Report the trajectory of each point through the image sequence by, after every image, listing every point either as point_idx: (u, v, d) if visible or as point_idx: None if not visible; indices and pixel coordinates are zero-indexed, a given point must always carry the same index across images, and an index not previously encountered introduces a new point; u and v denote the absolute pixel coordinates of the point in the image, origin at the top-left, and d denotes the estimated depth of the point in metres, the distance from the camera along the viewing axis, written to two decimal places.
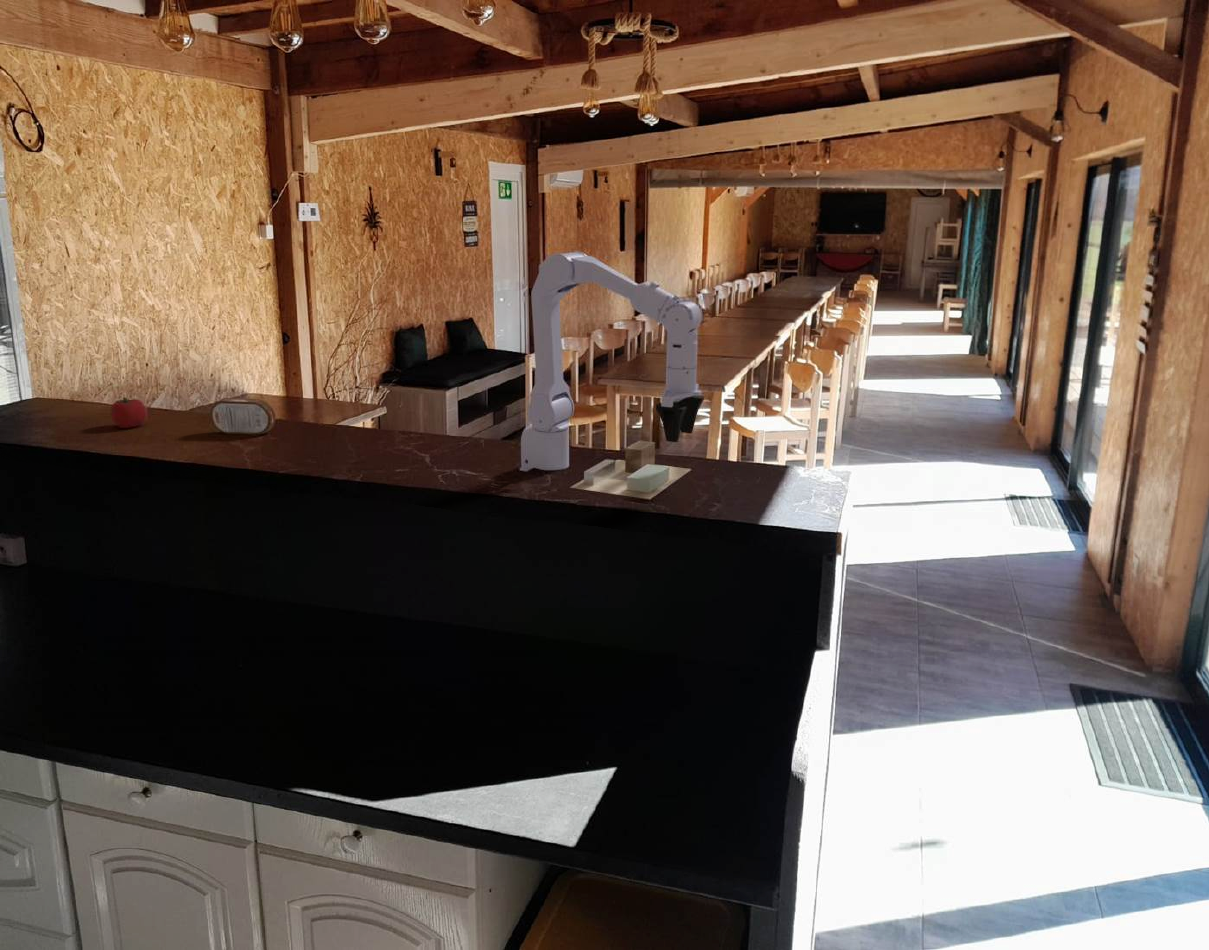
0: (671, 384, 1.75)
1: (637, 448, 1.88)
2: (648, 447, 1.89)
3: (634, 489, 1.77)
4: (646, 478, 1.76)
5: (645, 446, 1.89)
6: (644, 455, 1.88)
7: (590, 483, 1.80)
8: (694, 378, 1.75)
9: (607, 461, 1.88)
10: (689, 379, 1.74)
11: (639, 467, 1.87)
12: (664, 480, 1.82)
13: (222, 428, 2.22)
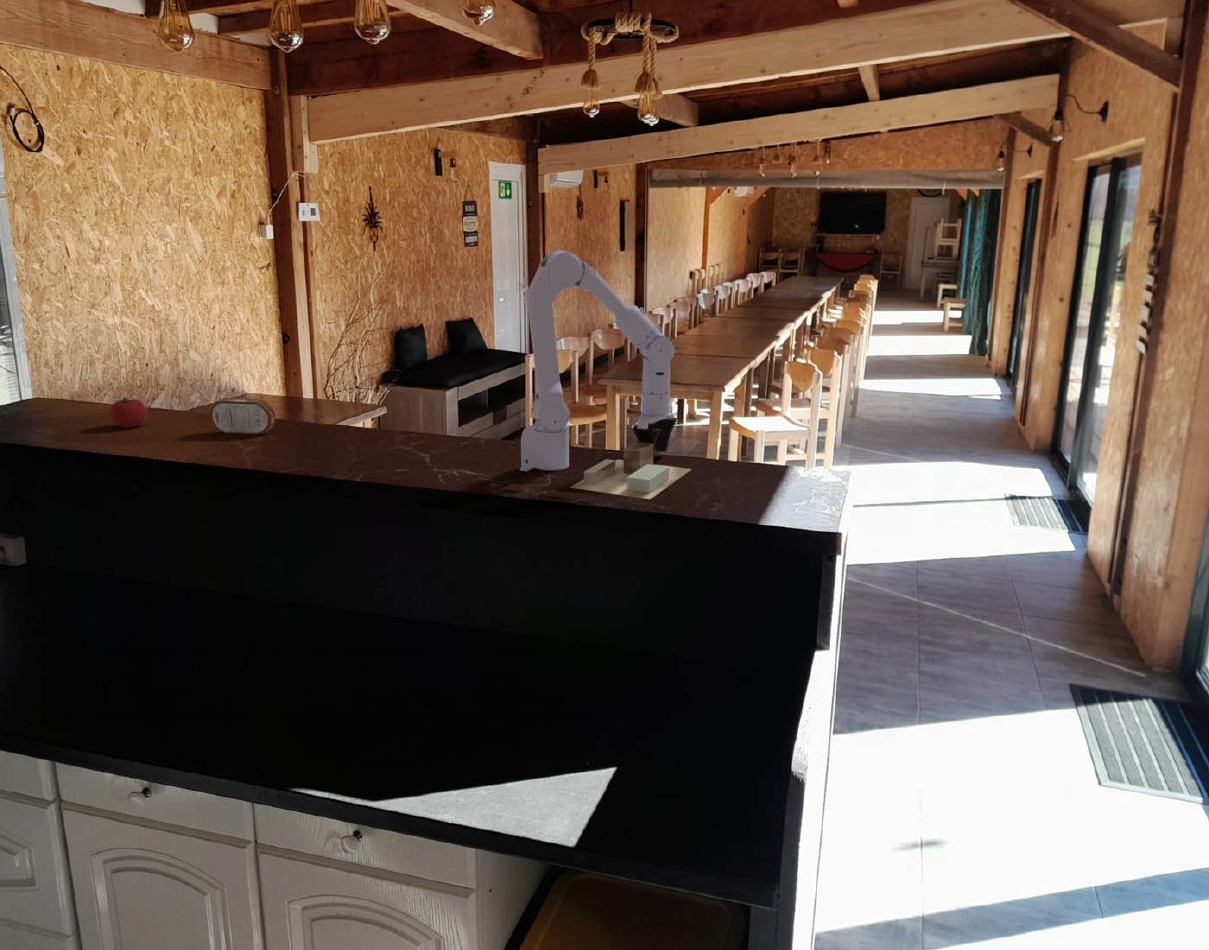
0: (646, 408, 1.93)
1: (635, 449, 1.87)
2: (646, 448, 1.89)
3: (634, 489, 1.77)
4: (646, 478, 1.76)
5: (643, 447, 1.88)
6: (642, 456, 1.87)
7: (590, 483, 1.80)
8: (667, 402, 1.93)
9: (607, 461, 1.88)
10: (663, 403, 1.92)
11: (637, 468, 1.87)
12: (664, 480, 1.82)
13: (222, 428, 2.22)
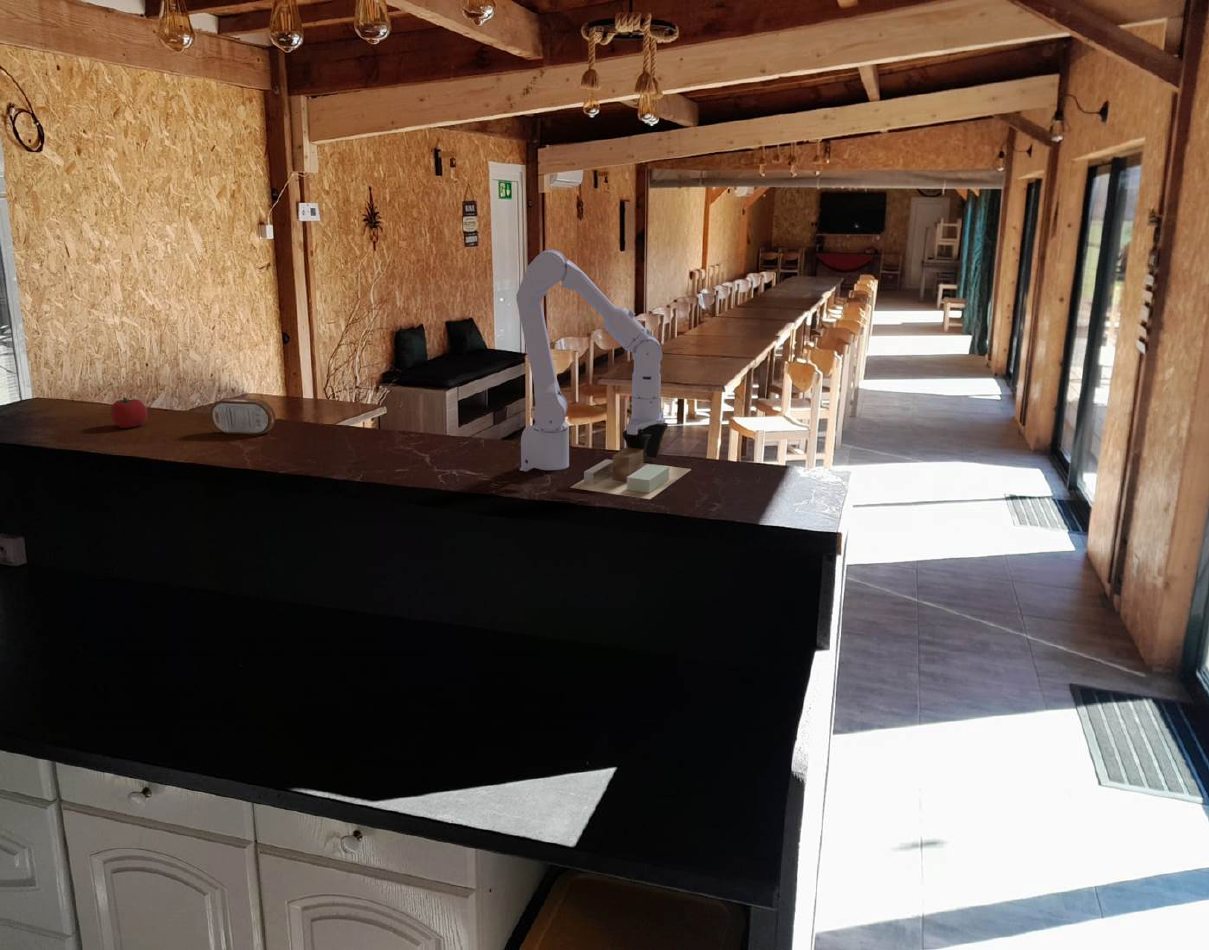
0: (636, 413, 1.88)
1: (625, 455, 1.82)
2: (636, 454, 1.84)
3: (634, 489, 1.77)
4: (646, 478, 1.76)
5: (633, 453, 1.84)
6: (632, 462, 1.83)
7: (590, 483, 1.80)
8: (658, 407, 1.89)
9: (607, 461, 1.88)
10: (653, 408, 1.88)
11: (627, 475, 1.82)
12: (664, 480, 1.82)
13: (222, 428, 2.22)
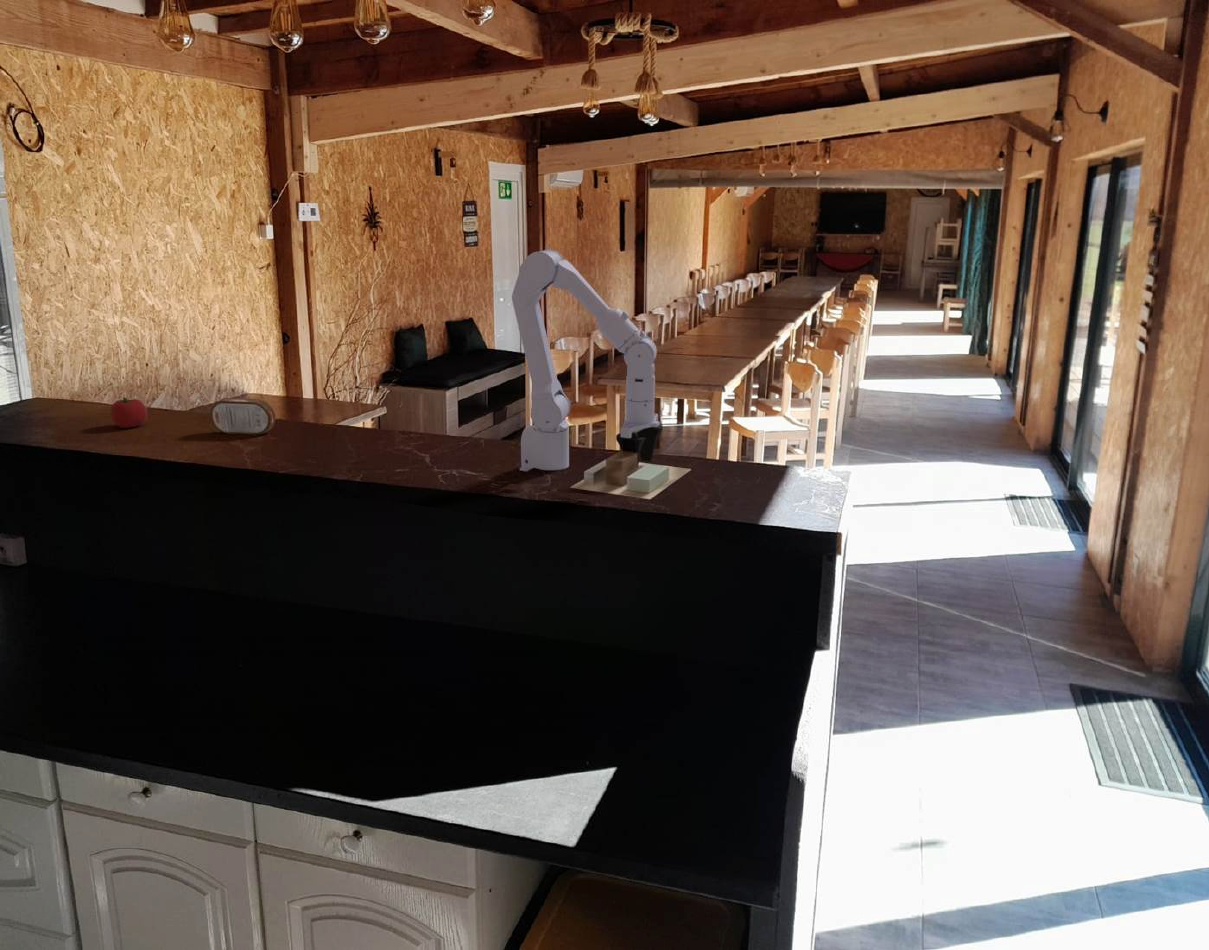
0: (630, 416, 1.86)
1: (618, 459, 1.80)
2: (630, 458, 1.81)
3: (634, 489, 1.77)
4: (646, 478, 1.76)
5: (627, 457, 1.81)
6: (626, 466, 1.80)
7: (590, 483, 1.80)
8: (652, 410, 1.86)
9: None
10: (647, 411, 1.85)
11: (620, 479, 1.79)
12: (664, 480, 1.82)
13: (222, 428, 2.22)
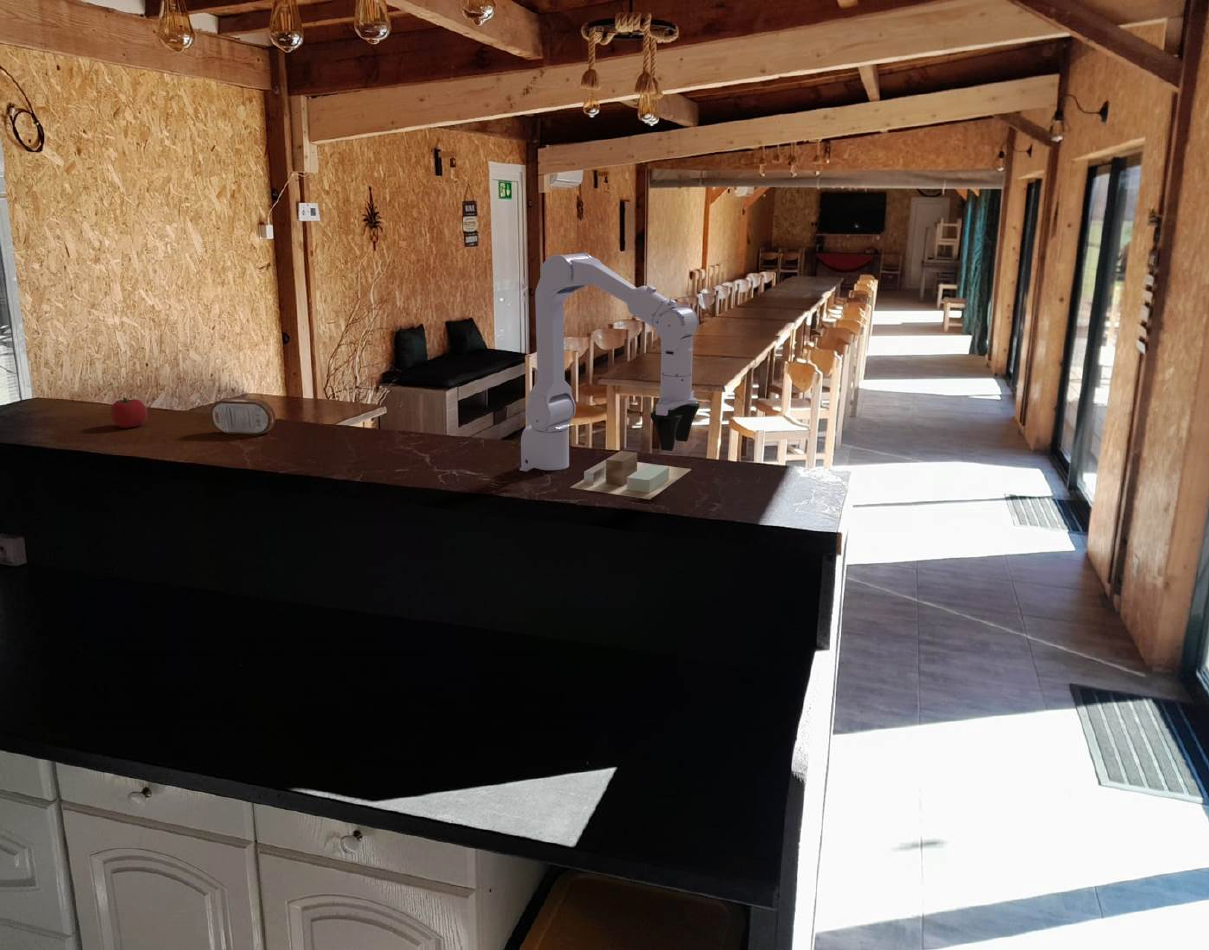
0: (666, 392, 1.71)
1: (618, 459, 1.80)
2: (630, 458, 1.81)
3: (634, 489, 1.77)
4: (646, 478, 1.76)
5: (627, 457, 1.81)
6: (625, 466, 1.80)
7: (590, 483, 1.80)
8: (689, 385, 1.72)
9: None
10: (684, 387, 1.71)
11: (620, 479, 1.79)
12: (664, 480, 1.82)
13: (222, 428, 2.22)
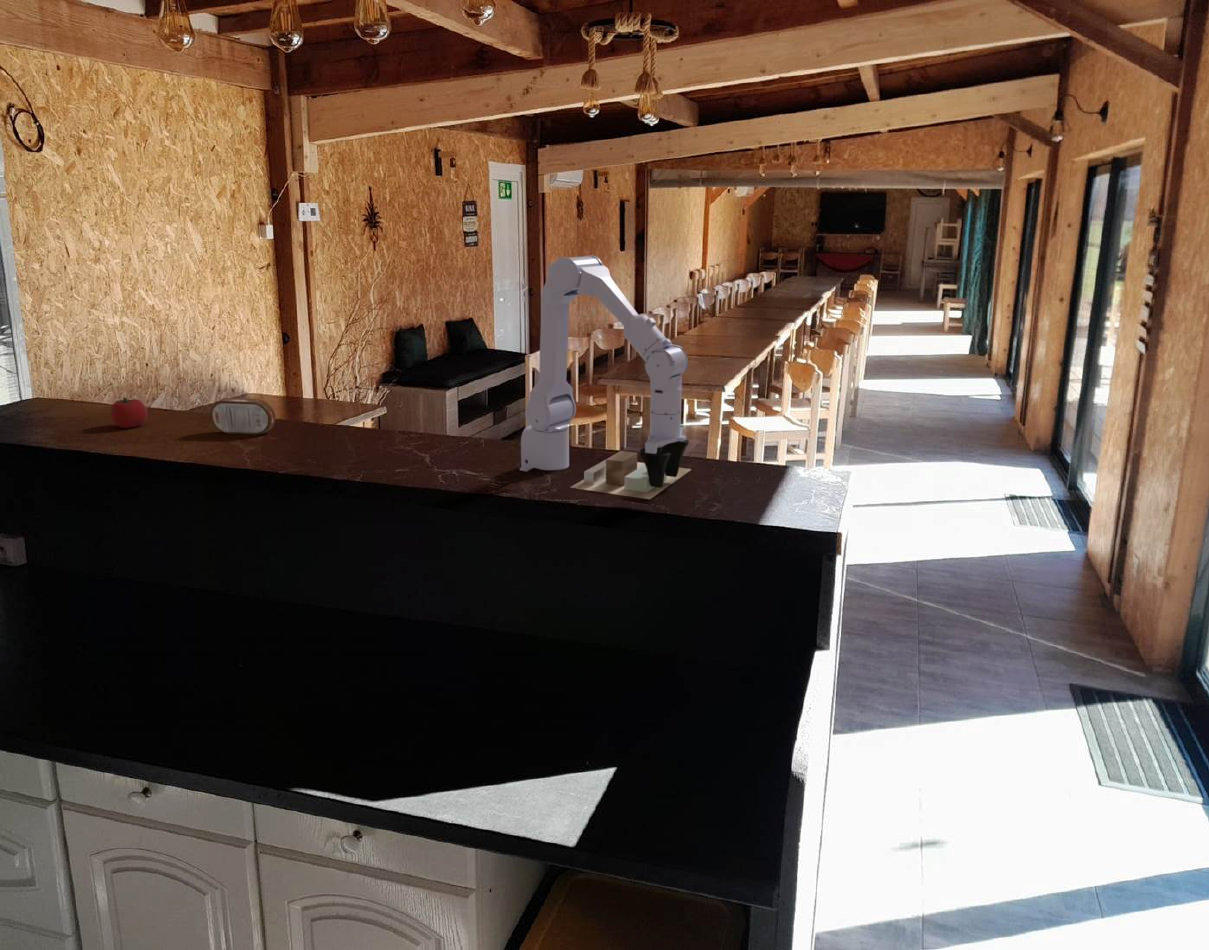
0: (655, 430, 1.74)
1: (618, 459, 1.80)
2: (630, 458, 1.81)
3: (632, 489, 1.77)
4: (644, 478, 1.76)
5: (627, 457, 1.81)
6: (625, 466, 1.80)
7: (590, 483, 1.80)
8: (678, 423, 1.74)
9: None
10: (673, 425, 1.73)
11: (620, 479, 1.79)
12: None
13: (222, 428, 2.22)
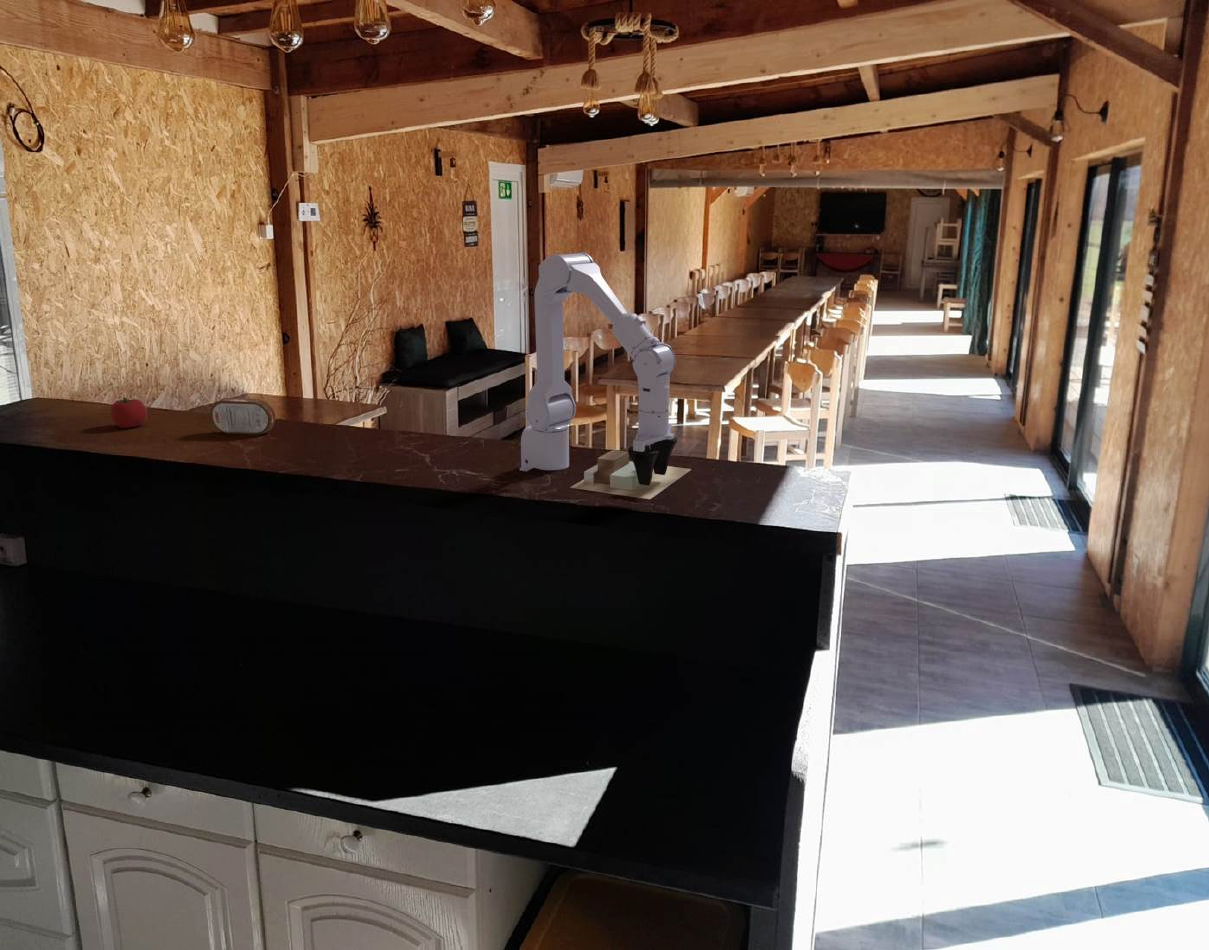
0: (643, 428, 1.75)
1: (610, 458, 1.80)
2: (621, 457, 1.82)
3: (617, 487, 1.78)
4: (629, 476, 1.77)
5: (618, 456, 1.82)
6: (617, 465, 1.81)
7: (590, 483, 1.80)
8: (666, 421, 1.75)
9: None
10: (661, 423, 1.74)
11: None
12: None
13: (222, 428, 2.22)
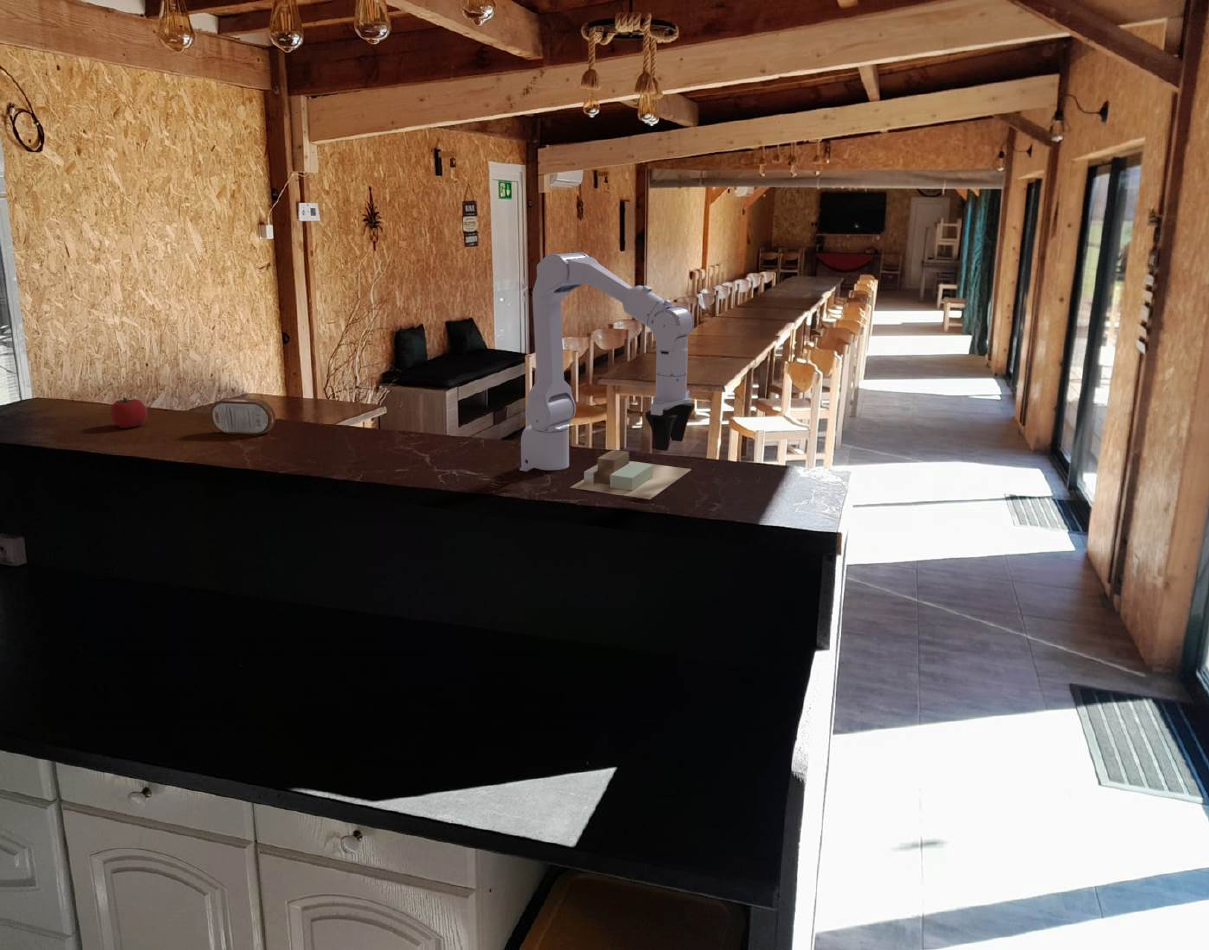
0: (661, 392, 1.72)
1: (610, 458, 1.80)
2: (621, 457, 1.82)
3: (617, 487, 1.78)
4: (629, 476, 1.77)
5: (618, 456, 1.82)
6: (617, 465, 1.81)
7: (590, 483, 1.80)
8: (684, 385, 1.72)
9: None
10: (679, 387, 1.71)
11: None
12: (648, 478, 1.84)
13: (222, 428, 2.22)
